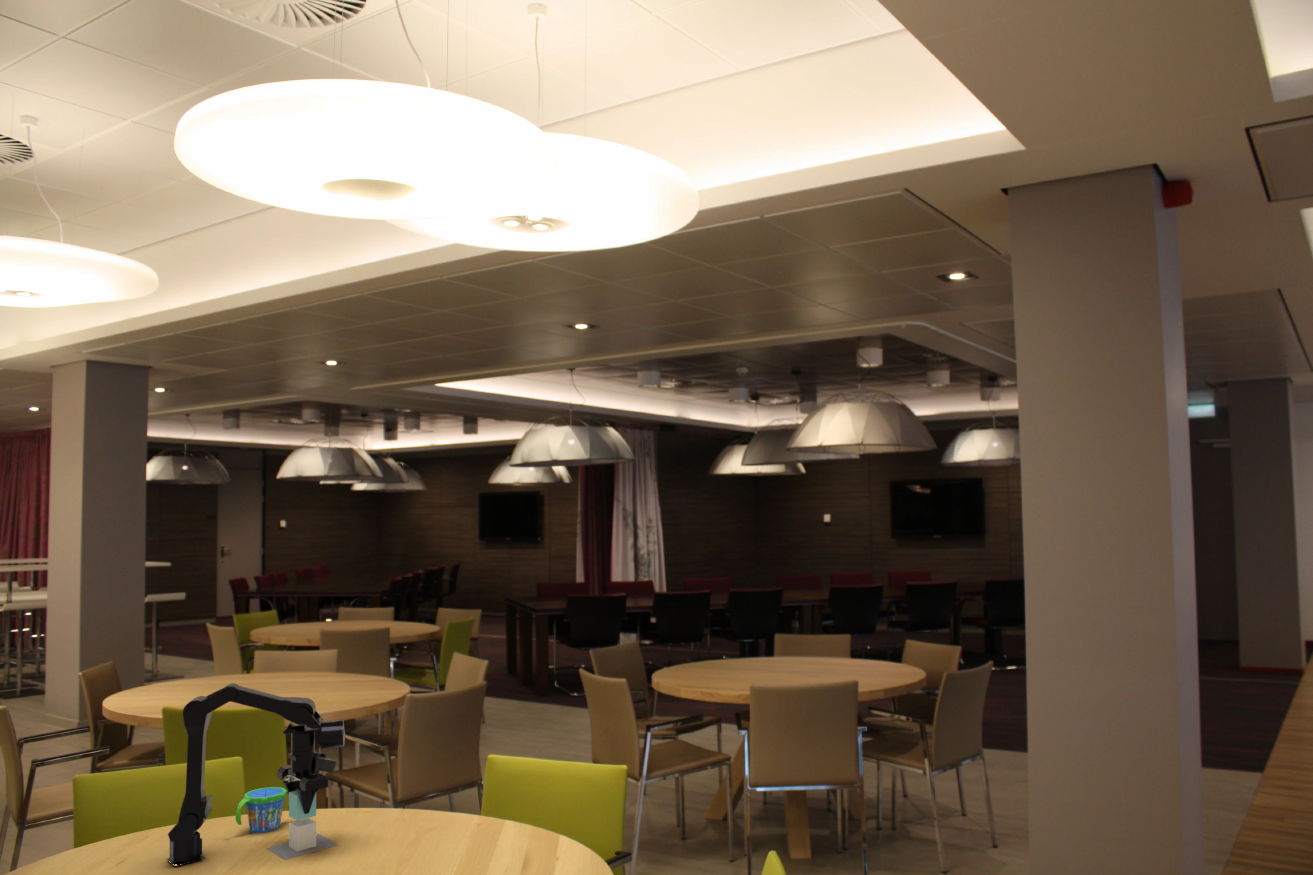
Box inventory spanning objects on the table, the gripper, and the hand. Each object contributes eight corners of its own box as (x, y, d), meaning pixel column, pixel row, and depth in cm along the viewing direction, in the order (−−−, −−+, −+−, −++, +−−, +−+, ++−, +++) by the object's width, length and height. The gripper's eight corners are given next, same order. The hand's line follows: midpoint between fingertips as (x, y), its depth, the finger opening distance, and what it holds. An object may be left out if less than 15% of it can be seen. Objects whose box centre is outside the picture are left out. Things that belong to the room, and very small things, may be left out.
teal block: (296, 820, 238) (297, 796, 239) (288, 815, 242) (289, 792, 242) (316, 815, 242) (316, 791, 242) (307, 811, 245) (308, 787, 246)
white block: (297, 851, 238) (297, 826, 238) (288, 846, 241) (289, 822, 242) (316, 846, 241) (316, 822, 242) (307, 841, 245) (308, 817, 245)
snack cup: (285, 818, 266) (285, 781, 266) (301, 827, 258) (301, 789, 259) (228, 832, 255) (228, 794, 255) (242, 842, 247) (243, 802, 248)
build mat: (284, 862, 232) (284, 859, 232) (265, 850, 241) (265, 847, 241) (339, 847, 242) (339, 844, 242) (318, 836, 250) (318, 833, 250)
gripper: (348, 749, 242) (348, 811, 241) (317, 737, 255) (317, 796, 254) (306, 757, 234) (305, 822, 233) (276, 745, 248) (275, 806, 246)
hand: (302, 811), depth 242 cm, fingers closed on teal block, 5 cm apart
